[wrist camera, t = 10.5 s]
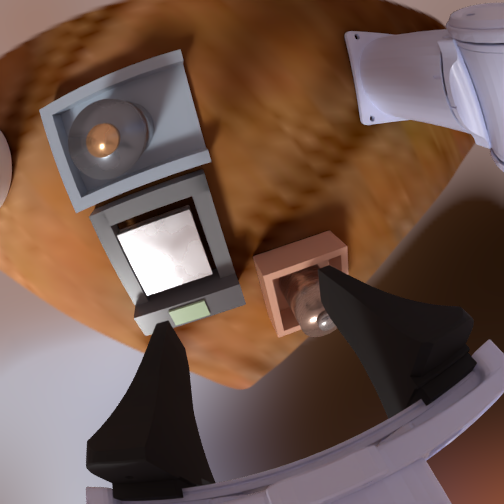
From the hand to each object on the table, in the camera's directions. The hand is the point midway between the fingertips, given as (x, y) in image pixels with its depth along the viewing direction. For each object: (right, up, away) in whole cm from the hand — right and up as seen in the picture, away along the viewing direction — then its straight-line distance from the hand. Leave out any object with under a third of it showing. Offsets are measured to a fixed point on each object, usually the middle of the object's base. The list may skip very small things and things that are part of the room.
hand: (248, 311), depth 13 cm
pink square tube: (+4, +1, +13) cm, 13 cm away
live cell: (-8, +10, +3) cm, 14 cm away
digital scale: (-6, +3, +8) cm, 11 cm away
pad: (-6, +3, +7) cm, 10 cm away
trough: (-8, +11, +3) cm, 14 cm away
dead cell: (+4, 0, +12) cm, 13 cm away
